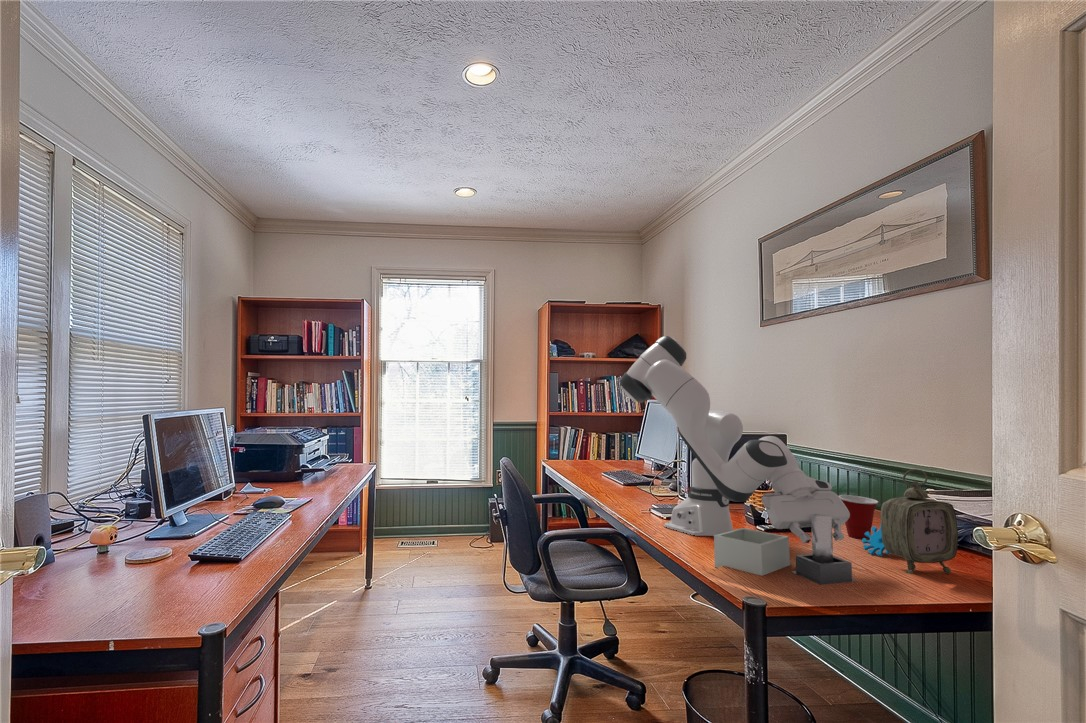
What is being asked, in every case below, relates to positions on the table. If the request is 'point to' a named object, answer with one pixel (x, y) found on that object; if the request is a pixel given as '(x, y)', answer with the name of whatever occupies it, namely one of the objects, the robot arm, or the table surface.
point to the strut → (822, 538)
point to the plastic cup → (859, 515)
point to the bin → (751, 551)
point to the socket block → (824, 570)
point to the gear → (874, 542)
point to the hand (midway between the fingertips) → (824, 540)
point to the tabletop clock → (919, 527)
